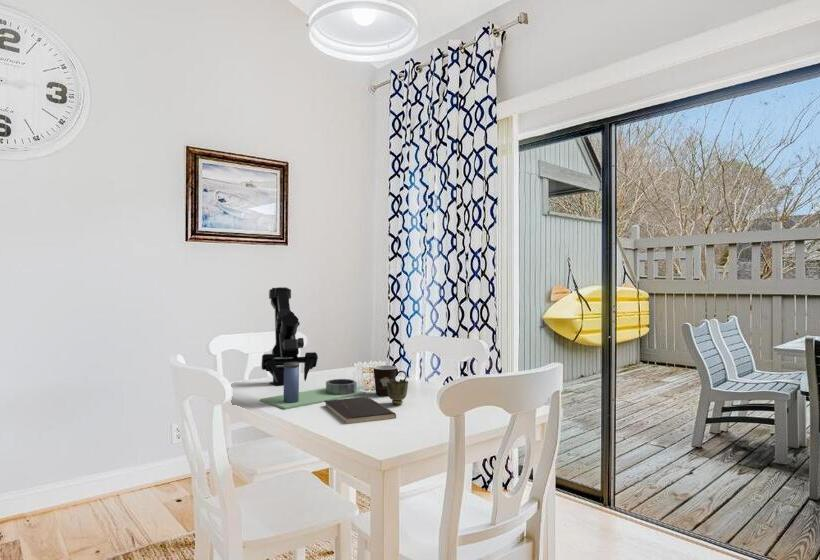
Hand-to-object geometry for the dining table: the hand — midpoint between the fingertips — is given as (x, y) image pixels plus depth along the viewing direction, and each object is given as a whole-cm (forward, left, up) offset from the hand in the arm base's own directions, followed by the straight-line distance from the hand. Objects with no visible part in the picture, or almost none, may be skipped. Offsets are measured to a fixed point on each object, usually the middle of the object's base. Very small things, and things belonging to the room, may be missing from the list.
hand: (291, 381), depth 177 cm
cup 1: (-2, +22, -7) cm, 24 cm away
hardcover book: (+23, +10, -8) cm, 27 cm away
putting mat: (-3, +11, -8) cm, 14 cm away
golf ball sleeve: (-1, 0, -7) cm, 7 cm away
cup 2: (+24, +26, -8) cm, 37 cm away
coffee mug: (+12, +33, -8) cm, 36 cm away
